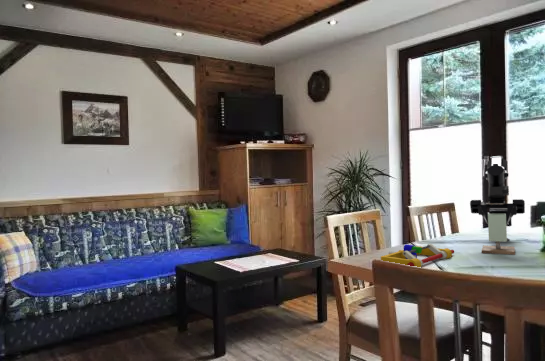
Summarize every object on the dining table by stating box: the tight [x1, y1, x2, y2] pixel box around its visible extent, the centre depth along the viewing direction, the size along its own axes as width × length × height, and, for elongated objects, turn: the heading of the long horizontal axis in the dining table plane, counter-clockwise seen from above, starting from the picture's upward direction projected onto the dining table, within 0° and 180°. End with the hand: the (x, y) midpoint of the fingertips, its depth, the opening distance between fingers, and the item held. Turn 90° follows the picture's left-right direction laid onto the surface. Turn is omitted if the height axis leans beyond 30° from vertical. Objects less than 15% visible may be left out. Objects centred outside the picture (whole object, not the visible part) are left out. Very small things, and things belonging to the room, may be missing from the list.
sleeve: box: [487, 212, 508, 243], centre depth 161 cm, size 5×6×10 cm
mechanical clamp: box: [380, 243, 455, 267], centre depth 154 cm, size 18×6×30 cm
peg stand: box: [481, 241, 516, 256], centre depth 162 cm, size 11×11×5 cm
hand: (497, 223), depth 160 cm, fingers closed on sleeve, 6 cm apart
